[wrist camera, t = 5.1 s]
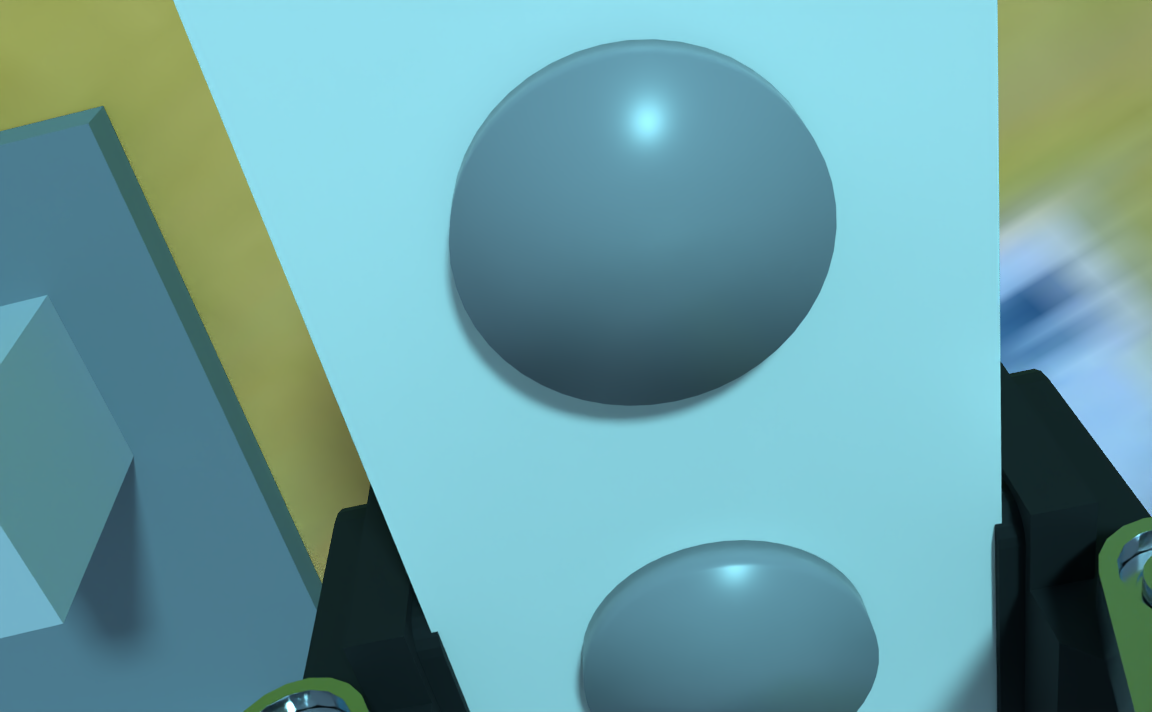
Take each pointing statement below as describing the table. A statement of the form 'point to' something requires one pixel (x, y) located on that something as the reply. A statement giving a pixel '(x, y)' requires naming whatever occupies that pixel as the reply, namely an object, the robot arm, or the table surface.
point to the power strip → (653, 330)
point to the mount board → (126, 460)
